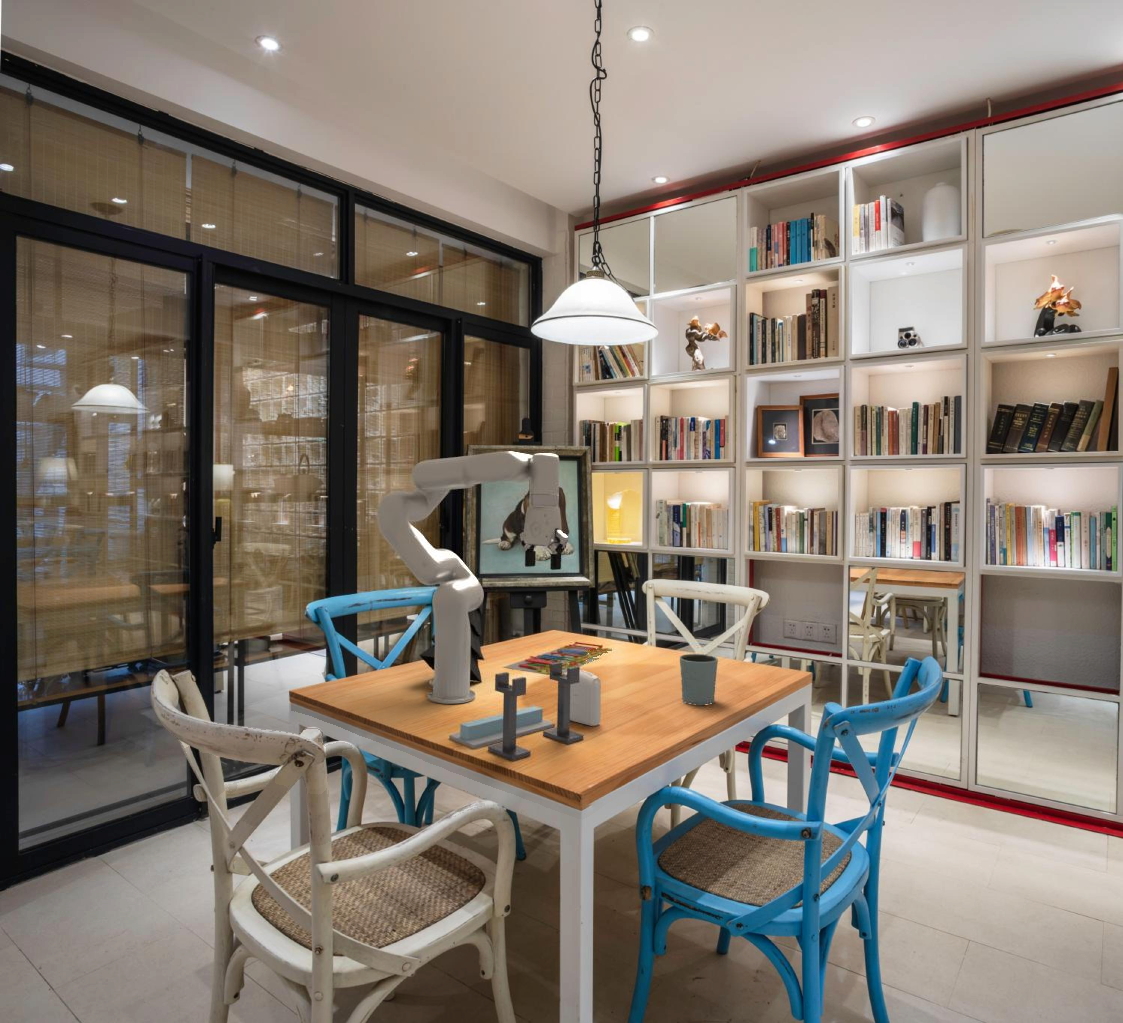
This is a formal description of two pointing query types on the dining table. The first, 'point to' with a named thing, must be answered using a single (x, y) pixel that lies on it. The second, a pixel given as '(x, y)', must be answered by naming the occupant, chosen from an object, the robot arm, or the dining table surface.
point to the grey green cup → (698, 678)
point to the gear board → (560, 658)
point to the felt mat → (501, 735)
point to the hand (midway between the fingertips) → (542, 567)
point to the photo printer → (586, 699)
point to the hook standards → (511, 692)
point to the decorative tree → (474, 649)
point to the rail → (499, 723)
